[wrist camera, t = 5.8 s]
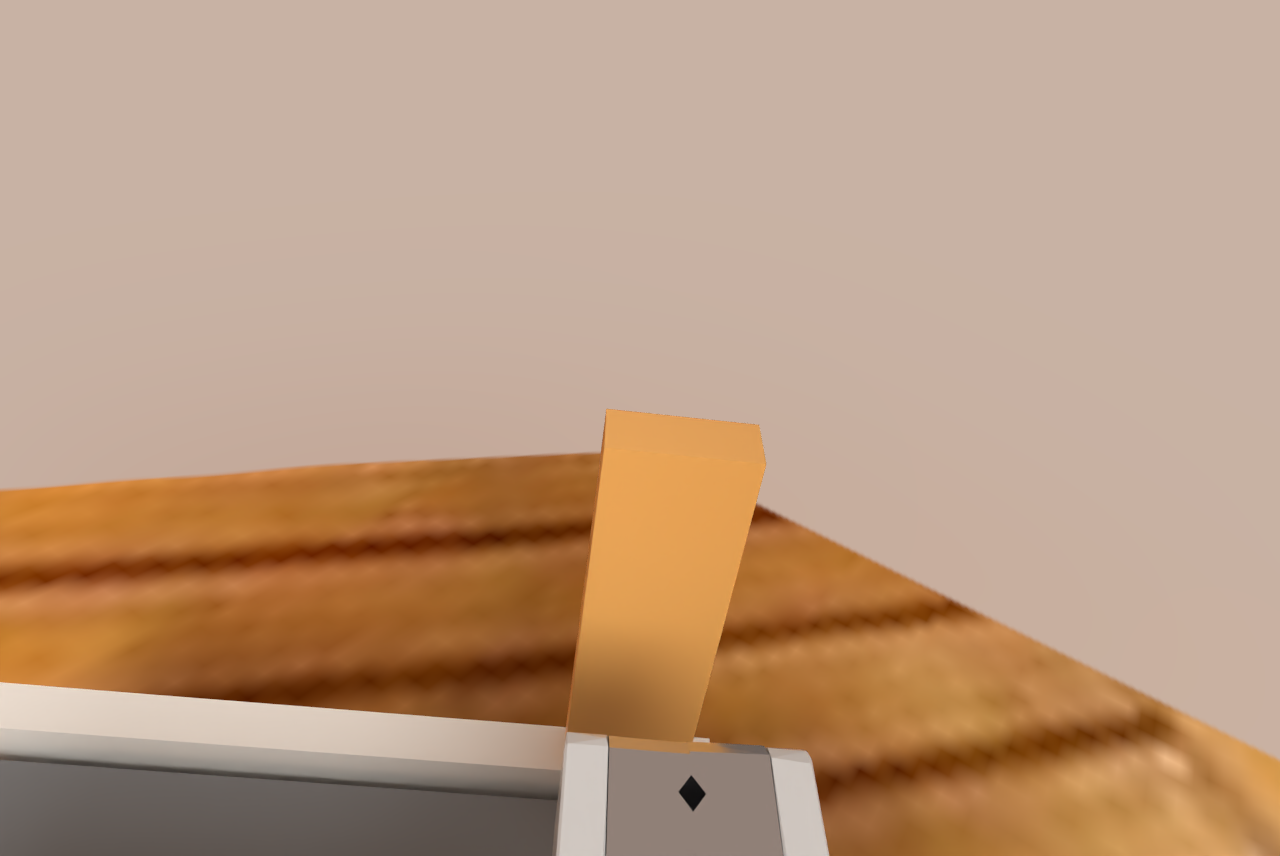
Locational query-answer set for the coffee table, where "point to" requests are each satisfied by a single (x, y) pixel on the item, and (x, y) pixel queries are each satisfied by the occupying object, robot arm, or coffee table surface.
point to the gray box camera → (252, 817)
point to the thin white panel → (474, 749)
